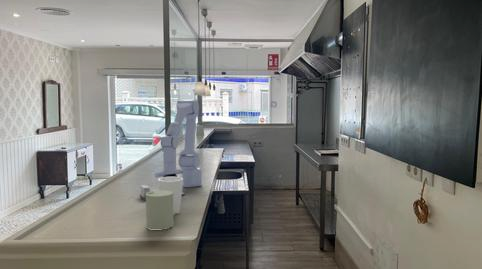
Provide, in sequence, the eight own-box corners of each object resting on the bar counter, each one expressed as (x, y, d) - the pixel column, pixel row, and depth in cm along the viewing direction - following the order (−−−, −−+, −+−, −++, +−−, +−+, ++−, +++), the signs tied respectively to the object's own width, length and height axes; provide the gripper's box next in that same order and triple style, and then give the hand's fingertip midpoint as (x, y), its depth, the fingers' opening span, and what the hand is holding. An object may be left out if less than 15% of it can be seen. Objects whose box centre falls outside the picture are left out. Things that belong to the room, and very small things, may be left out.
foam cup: (162, 208, 142) (161, 176, 141) (185, 208, 142) (184, 176, 141) (155, 215, 132) (155, 181, 131) (180, 216, 132) (180, 181, 131)
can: (148, 222, 125) (148, 188, 124) (175, 221, 126) (174, 188, 125) (143, 231, 116) (143, 195, 115) (172, 230, 117) (171, 194, 116)
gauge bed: (178, 191, 171) (177, 180, 171) (184, 195, 162) (184, 184, 162) (140, 195, 163) (139, 184, 162) (144, 200, 154) (144, 189, 154)
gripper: (178, 159, 171) (179, 186, 172) (151, 162, 161) (151, 191, 162) (186, 160, 166) (187, 189, 167) (159, 164, 156) (159, 194, 157)
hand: (170, 190), depth 164 cm, fingers closed
